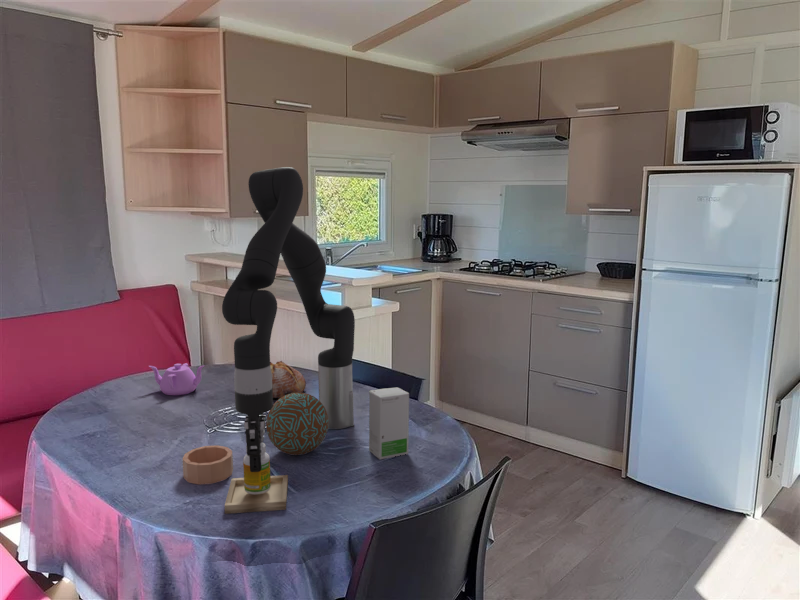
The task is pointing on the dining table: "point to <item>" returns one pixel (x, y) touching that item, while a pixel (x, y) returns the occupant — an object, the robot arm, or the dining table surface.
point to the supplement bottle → (257, 473)
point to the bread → (286, 380)
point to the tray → (257, 496)
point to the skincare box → (388, 422)
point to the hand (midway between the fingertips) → (257, 464)
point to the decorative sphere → (297, 423)
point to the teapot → (178, 379)
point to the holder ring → (207, 464)
